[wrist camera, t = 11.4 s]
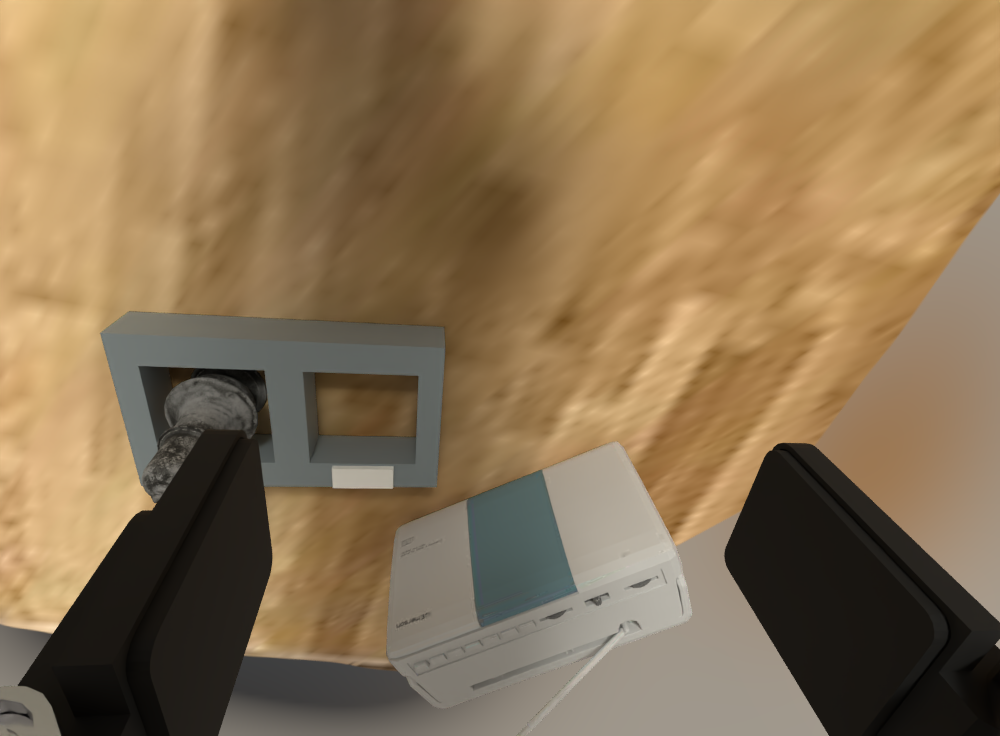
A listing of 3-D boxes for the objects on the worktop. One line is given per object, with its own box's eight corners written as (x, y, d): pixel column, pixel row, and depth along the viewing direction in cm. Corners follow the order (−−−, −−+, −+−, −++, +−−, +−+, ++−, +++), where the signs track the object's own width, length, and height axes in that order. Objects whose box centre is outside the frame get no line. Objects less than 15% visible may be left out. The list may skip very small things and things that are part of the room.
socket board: (128, 311, 35) (96, 335, 32) (444, 327, 39) (445, 350, 35) (163, 455, 41) (138, 489, 38) (436, 459, 44) (436, 490, 41)
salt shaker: (277, 364, 38) (218, 470, 28) (265, 429, 41) (208, 549, 30) (189, 344, 37) (93, 448, 26) (182, 413, 39) (92, 533, 29)
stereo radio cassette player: (614, 426, 45) (731, 647, 27) (638, 492, 49) (755, 723, 31) (391, 515, 47) (366, 776, 29) (432, 572, 50) (432, 832, 33)
